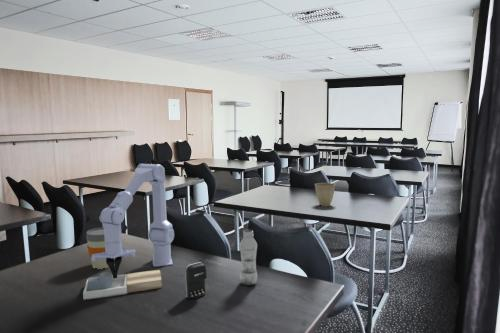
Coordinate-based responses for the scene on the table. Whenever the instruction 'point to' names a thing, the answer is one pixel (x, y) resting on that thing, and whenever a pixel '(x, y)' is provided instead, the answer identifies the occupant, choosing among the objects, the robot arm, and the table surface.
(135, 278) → the beige piece
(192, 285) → the battery charger
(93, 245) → the reusable coffee cup
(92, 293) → the box
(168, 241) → the robot arm
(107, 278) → the blue-grey cube
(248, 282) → the plastic bottle
